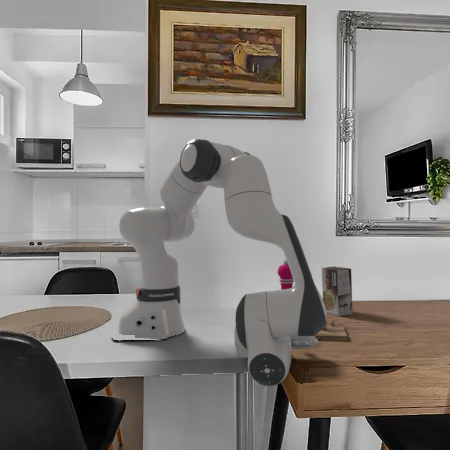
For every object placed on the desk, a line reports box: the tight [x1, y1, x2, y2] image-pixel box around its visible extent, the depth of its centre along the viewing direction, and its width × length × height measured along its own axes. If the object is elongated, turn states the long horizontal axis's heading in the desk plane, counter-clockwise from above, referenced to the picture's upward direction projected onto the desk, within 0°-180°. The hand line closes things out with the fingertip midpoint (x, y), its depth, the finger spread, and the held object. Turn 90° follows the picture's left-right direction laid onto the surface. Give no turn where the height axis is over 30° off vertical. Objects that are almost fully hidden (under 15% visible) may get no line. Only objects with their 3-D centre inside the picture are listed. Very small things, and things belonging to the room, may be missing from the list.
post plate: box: [316, 318, 348, 342], centre depth 112 cm, size 12×12×5 cm
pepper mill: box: [277, 259, 295, 290], centre depth 132 cm, size 7×7×20 cm
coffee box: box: [321, 266, 354, 317], centre depth 136 cm, size 9×6×16 cm
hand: (276, 326), depth 102 cm, fingers open, 8 cm apart
